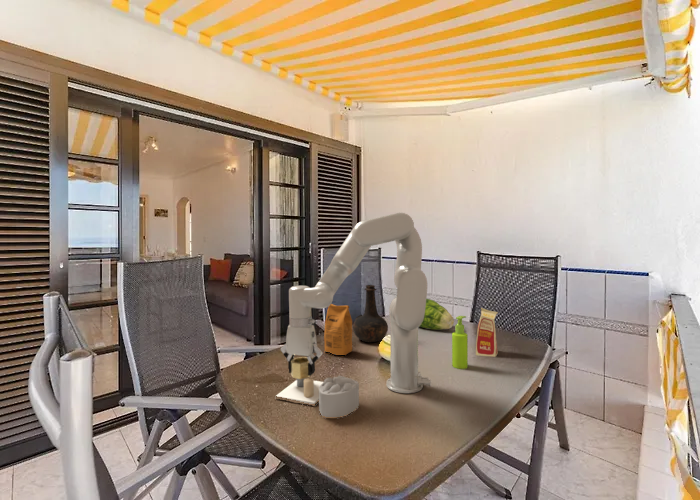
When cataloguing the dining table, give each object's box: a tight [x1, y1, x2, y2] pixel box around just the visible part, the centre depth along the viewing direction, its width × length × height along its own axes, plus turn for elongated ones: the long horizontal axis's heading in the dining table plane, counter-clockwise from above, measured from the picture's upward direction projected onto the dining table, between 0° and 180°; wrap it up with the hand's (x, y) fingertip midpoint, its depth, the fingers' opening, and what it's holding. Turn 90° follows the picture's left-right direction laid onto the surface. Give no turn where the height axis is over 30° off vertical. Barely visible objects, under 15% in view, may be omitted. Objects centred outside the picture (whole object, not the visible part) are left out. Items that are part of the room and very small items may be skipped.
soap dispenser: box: [451, 315, 469, 370], centre depth 140 cm, size 6×7×20 cm
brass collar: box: [290, 356, 311, 380], centre depth 121 cm, size 7×7×5 cm
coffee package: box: [323, 303, 353, 356], centre depth 158 cm, size 10×12×22 cm
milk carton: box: [475, 307, 499, 358], centre depth 155 cm, size 9×9×20 cm
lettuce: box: [419, 298, 455, 331], centre depth 196 cm, size 17×23×16 cm
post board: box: [275, 377, 324, 404], centre depth 118 cm, size 14×15×8 cm
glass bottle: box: [352, 284, 389, 343], centre depth 177 cm, size 18×18×28 cm
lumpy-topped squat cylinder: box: [318, 375, 360, 417], centre depth 107 cm, size 10×13×9 cm
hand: (301, 372), depth 121 cm, fingers closed on brass collar, 6 cm apart
